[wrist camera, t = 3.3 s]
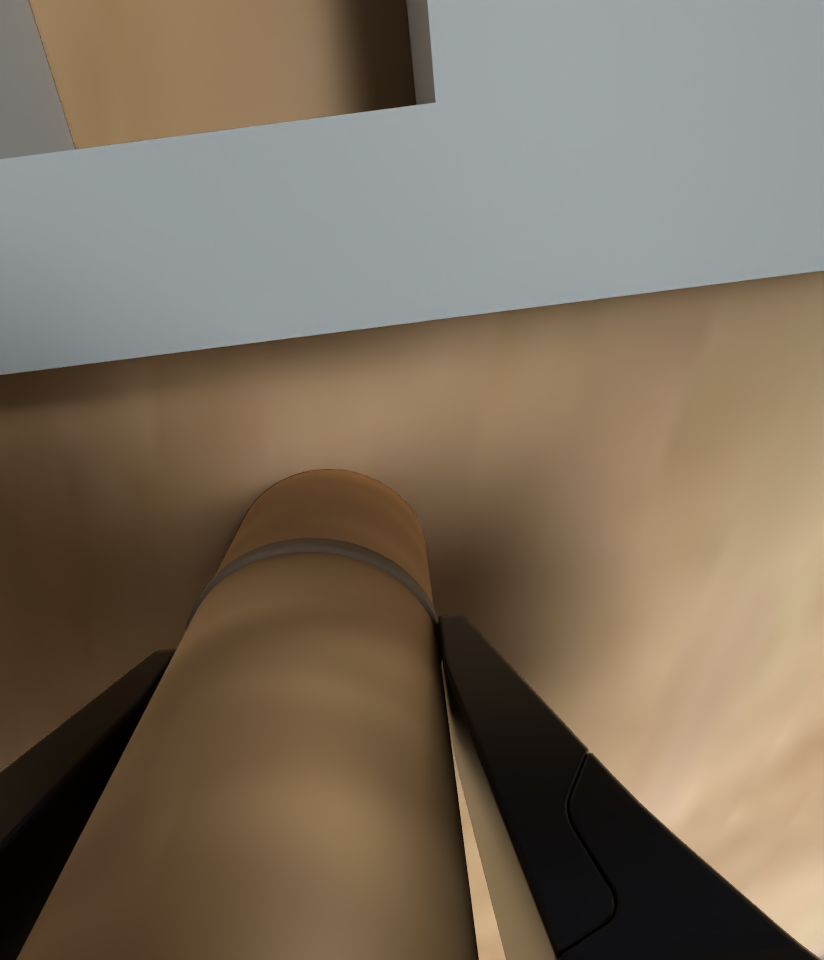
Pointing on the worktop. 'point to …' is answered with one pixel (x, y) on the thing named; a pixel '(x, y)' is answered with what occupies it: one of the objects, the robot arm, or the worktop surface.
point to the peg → (285, 760)
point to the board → (425, 183)
